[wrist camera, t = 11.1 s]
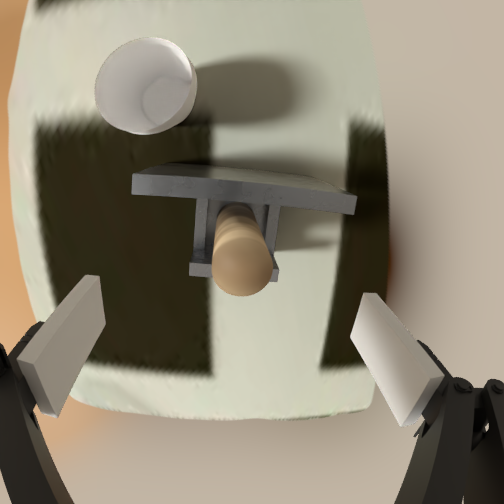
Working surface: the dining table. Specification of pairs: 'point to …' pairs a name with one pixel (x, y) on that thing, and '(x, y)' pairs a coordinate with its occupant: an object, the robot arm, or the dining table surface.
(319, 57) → the dining table surface
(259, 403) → the dining table surface
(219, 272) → the wooden dowel
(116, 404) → the dining table surface
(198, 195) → the bracket
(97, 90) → the cup
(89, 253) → the dining table surface
